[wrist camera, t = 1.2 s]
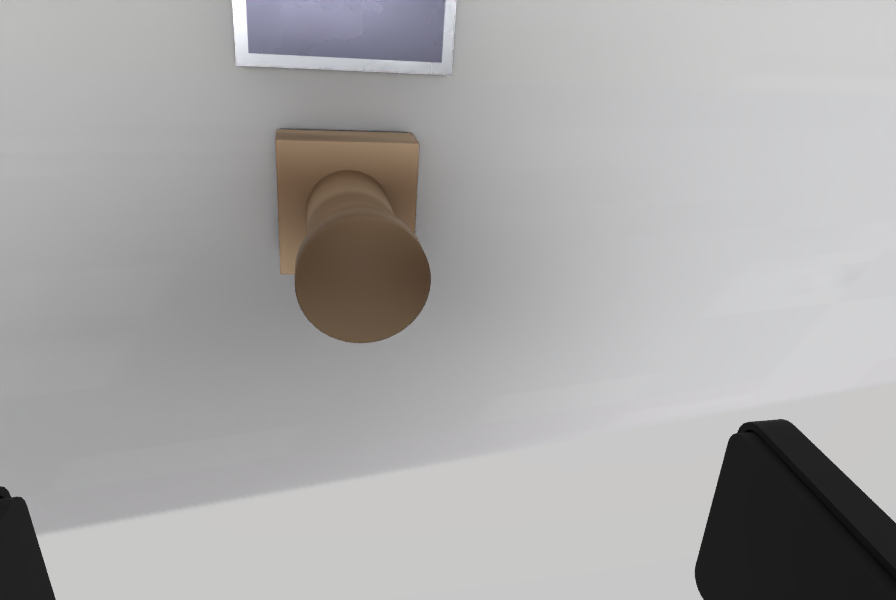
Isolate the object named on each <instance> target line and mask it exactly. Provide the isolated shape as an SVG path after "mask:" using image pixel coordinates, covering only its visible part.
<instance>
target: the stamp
mask: <svg viewBox="0 0 896 600" xmlns="http://www.w3.org/2000/svg"><path fill="white" fill-rule="evenodd" d="M275 142H276V168H277V194H278V221H279V247H280V273H281V274H295V291H296V296H297V300H298V303H299V305H300V308H301V310H302V311H303V313H304V315H305V316H306V317H307V319H308V320H309V321H310V322H311V323H312V324H313V325H314V326H315V327H316V328H317V329H319V330H320V331H321V332H323V333H325V334H327V335H328V336H330V337H333V338H335V339H338V340H342V341H345V342H352V343H369V342H375V341H380V340H383V339H386V338H389V337H391V336H393V335H395V334H397V333H399V332H400V331H402V330H403V329H405V328H406V327H407V326H408V325H410V324H411V323H412V322H413V321H414V320H415V319H416V317H417V316H418V315H419V313H420V312H421V310H422V309H423V307H424V305H425V303H426V300H427V298H428V294H429V291H430V284H431V274H430V268H429V264H428V261H427V258H426V256H425V253H424V251H423V249H422V247H421V245H420V242H419V240H418V238H417V237H416V235H415V220H416V200H417V180H418V160H419V143H418V141H417V140H416V138H415V137H414V135H413V134H412V133H407V132H379V131H344V130H308V129H277V131H276V140H275Z"/></svg>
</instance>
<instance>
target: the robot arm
mask: <svg viewBox="0 0 896 600" xmlns="http://www.w3.org/2000/svg"><path fill="white" fill-rule="evenodd" d="M695 579H696V584H697V587H698V590H699V592H700V594H701V596H702V598H703V599H704V600H896V523H895V522H894V521H893V520H892V519H891V518H890V517H889V516H888V515H887V514H886V513H885V512H884V511H883V510H881V509H880V508H879V507H878V506H877V505H876V504H875V503H874V502H873V501H872V500H871V499H870V498H869V497H868V496H867V495H866V494H865V493H864V492H863V491H862V490H861V489H860V488H859V487H858V486H856V485H855V483H853V482H852V481H851V480H850V479H849V478H848V477H847V476H846V475H845V474H844V473H843V472H842V471H841V470H840V469H839V468H838V467H837V466H836V465H835V464H833V462H832V461H830V460H829V458H827V456H825V455H824V454H823V453H822V452H821V451H820V450H819V449H818V448H817V447H816V446H815V445H814V444H813V443H812V442H811V441H810V440H809V439H808V438H807V437H806V436H805V435H804V434H803V433H802V432H801V431H799V430H798V429H797V428H796V427H795V426H794V425H793V424H792V423H790V422H789V421H787V420H783V419H779V420H768V421H755V422H747V423H744V424H743V425H742V426H741V427H740V428H739V430H738V432H737V433H736V434H733V435H732V436H731V437H730V439H729V441H728V445H727V448H726V452H725V456H724V460H723V464H722V467H721V471H720V475H719V479H718V483H717V487H716V491H715V494H714V498H713V502H712V505H711V509H710V513H709V517H708V521H707V524H706V528H705V532H704V536H703V540H702V544H701V547H700V551H699V555H698V558H697V562H696V567H695ZM0 600H55V596H54V593H53V590H52V586H51V583H50V580H49V577H48V573H47V570H46V567H45V563H44V560H43V557H42V553H41V550H40V547H39V544H38V540H37V537H36V534H35V530H34V527H33V524H32V521H31V517H30V514H29V511H28V508H27V505H26V502H25V500H24V499H23V498H22V497H11V496H10V494H9V491H8V490H7V489H6V488H5V487H1V486H0Z"/></svg>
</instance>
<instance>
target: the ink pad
mask: <svg viewBox="0 0 896 600" xmlns="http://www.w3.org/2000/svg"><path fill="white" fill-rule="evenodd" d="M456 3H457V0H232V7H233V24H234V41H235V58H236V66H257V67H279V68H301V69H323V70H345V71H367V72H388V73H410V74H432V75H452V62H453V47H454V32H455V18H456Z"/></svg>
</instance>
